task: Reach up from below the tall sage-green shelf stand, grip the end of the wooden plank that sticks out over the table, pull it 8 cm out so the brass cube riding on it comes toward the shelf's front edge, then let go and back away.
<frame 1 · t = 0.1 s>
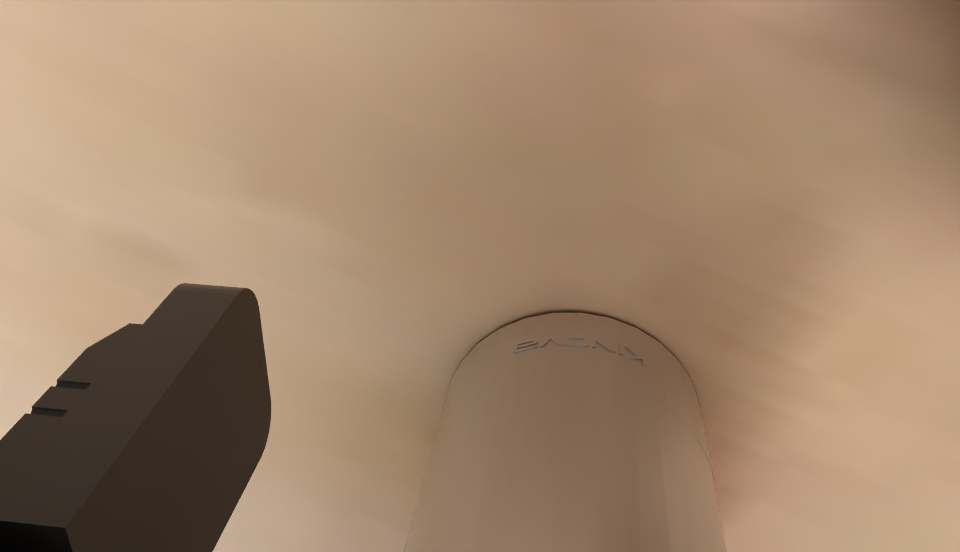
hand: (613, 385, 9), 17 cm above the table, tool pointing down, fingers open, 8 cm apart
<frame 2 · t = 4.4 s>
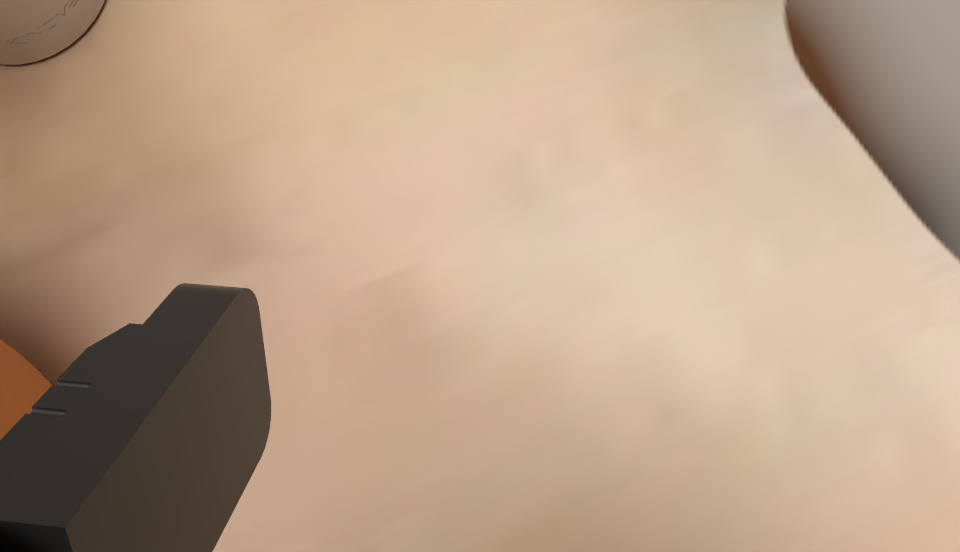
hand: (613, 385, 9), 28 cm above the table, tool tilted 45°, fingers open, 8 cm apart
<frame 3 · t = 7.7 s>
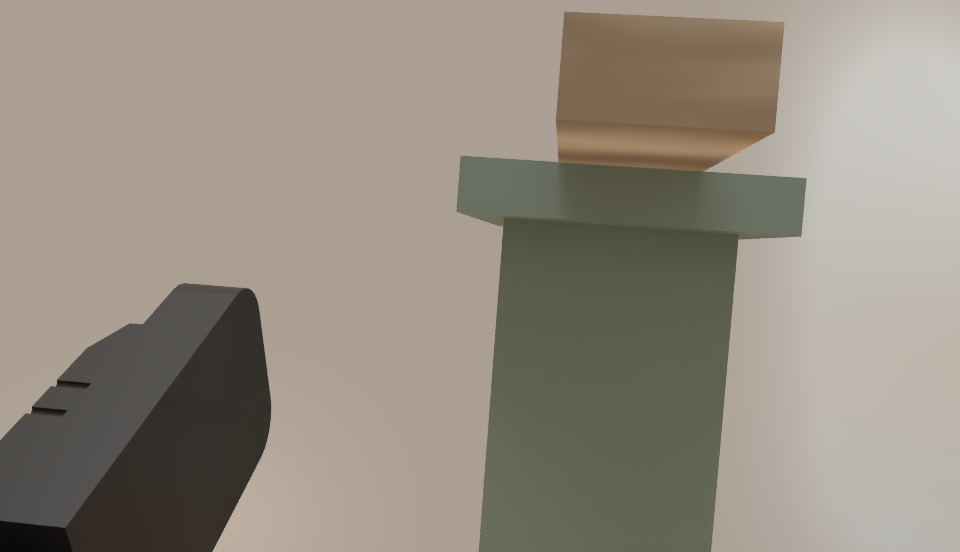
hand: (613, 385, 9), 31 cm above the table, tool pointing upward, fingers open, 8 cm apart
wooden plank: (622, 176, 33), point 35 cm above the table, touching cube, shelf stand
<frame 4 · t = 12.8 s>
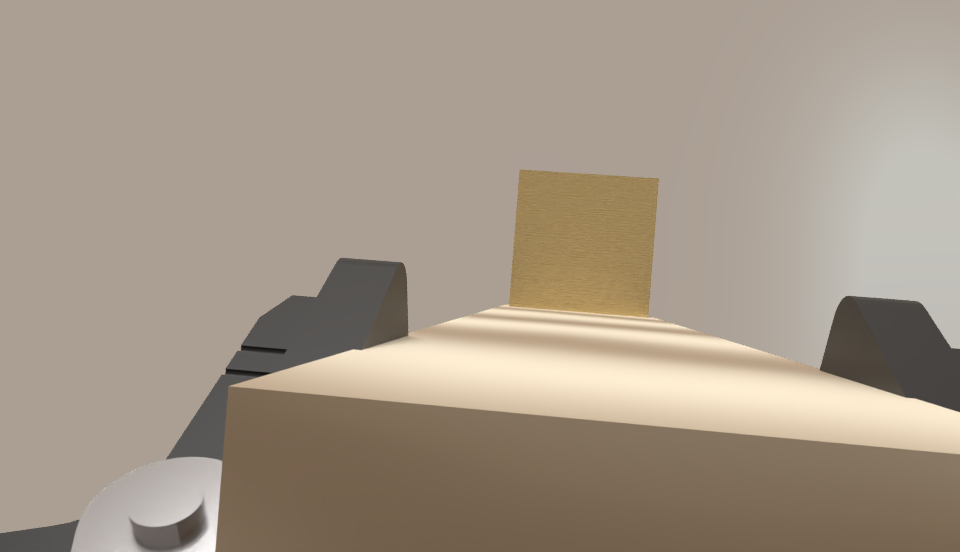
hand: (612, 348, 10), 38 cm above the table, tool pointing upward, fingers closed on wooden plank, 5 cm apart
cube: (576, 310, 29), point 37 cm above the table, touching wooden plank
wooden plank: (577, 435, 19), point 35 cm above the table, touching cube, gripper, shelf stand
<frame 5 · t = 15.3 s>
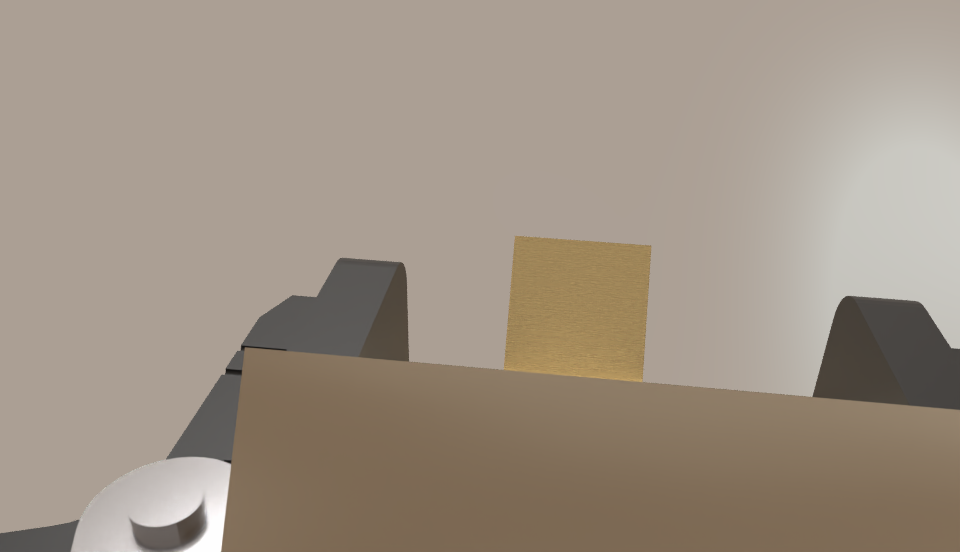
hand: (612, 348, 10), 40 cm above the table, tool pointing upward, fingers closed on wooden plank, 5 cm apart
cube: (570, 376, 30), point 38 cm above the table, tilted 6°, touching wooden plank
wooden plank: (573, 491, 18), point 36 cm above the table, tilted 6°, touching cube, gripper
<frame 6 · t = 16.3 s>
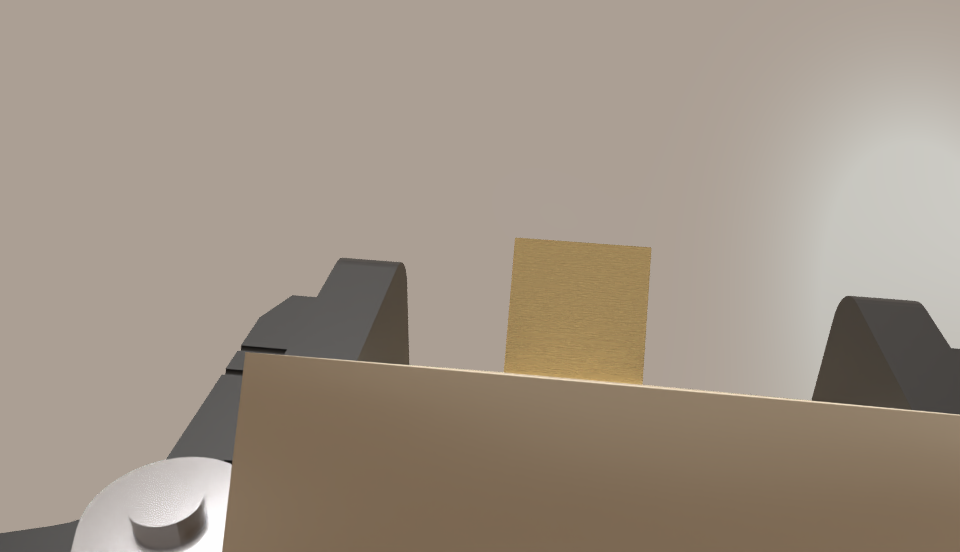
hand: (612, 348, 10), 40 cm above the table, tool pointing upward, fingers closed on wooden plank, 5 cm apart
cube: (571, 378, 30), point 38 cm above the table, tilted 6°, touching wooden plank
wooden plank: (573, 494, 18), point 37 cm above the table, tilted 6°, touching cube, gripper, shelf stand
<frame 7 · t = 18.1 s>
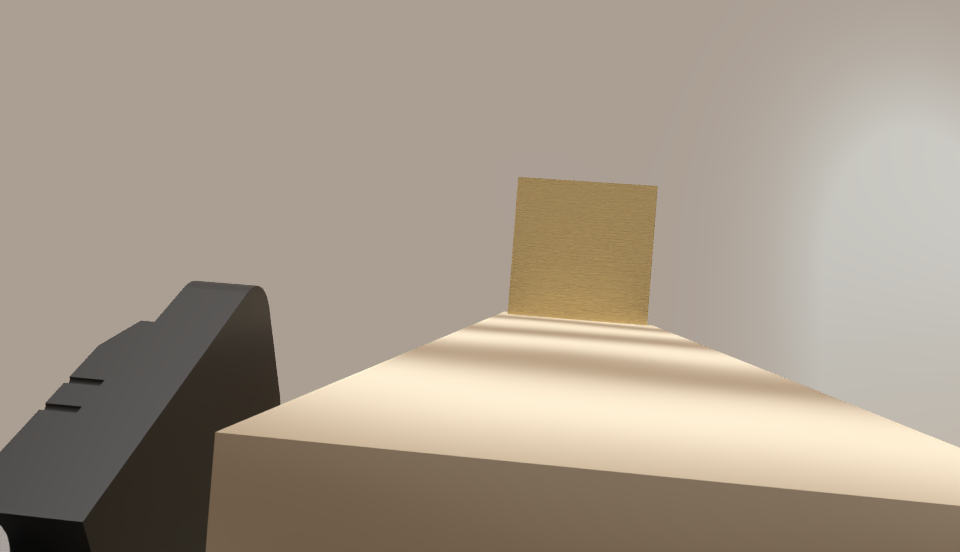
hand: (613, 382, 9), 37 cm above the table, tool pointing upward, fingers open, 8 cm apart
cube: (575, 317, 29), point 37 cm above the table, touching wooden plank
wooden plank: (575, 447, 18), point 35 cm above the table, touching cube, shelf stand
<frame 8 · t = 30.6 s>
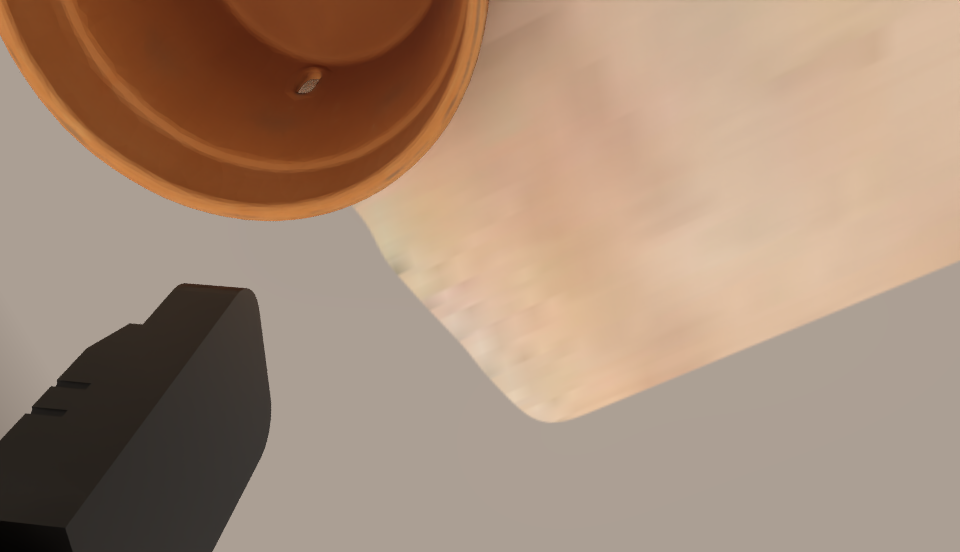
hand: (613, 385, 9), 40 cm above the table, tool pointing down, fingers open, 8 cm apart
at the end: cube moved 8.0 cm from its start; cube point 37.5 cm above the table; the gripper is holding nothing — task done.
